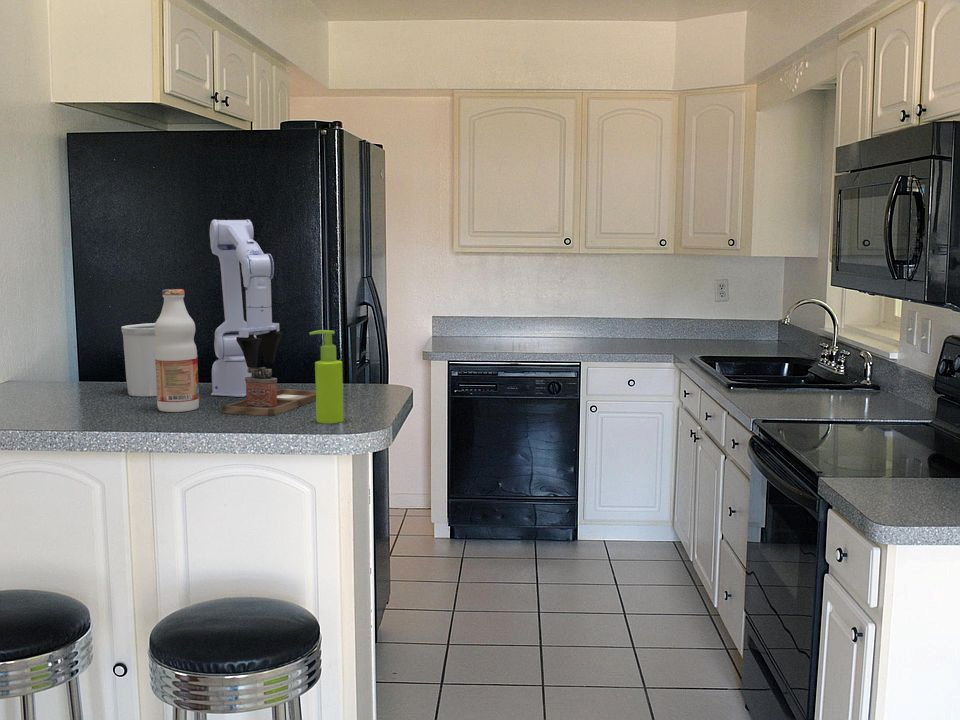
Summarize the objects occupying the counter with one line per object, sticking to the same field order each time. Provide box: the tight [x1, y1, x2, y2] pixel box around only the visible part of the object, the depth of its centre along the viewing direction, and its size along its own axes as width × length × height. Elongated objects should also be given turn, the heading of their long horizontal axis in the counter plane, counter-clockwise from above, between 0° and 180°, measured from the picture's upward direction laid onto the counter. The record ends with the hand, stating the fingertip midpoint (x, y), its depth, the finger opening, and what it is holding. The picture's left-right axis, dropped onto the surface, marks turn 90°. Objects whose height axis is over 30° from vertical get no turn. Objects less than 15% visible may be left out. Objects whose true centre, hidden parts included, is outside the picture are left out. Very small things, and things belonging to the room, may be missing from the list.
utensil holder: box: [120, 322, 157, 398], centre depth 253 cm, size 15×15×18 cm
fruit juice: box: [154, 288, 200, 413], centre depth 229 cm, size 9×9×28 cm
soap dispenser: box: [308, 329, 344, 424], centre depth 215 cm, size 6×7×20 cm
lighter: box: [245, 366, 278, 409], centre depth 230 cm, size 8×3×10 cm, turn 71°
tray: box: [221, 388, 316, 417], centre depth 236 cm, size 13×26×2 cm, turn 161°
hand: (260, 365), depth 229 cm, fingers open, 7 cm apart
